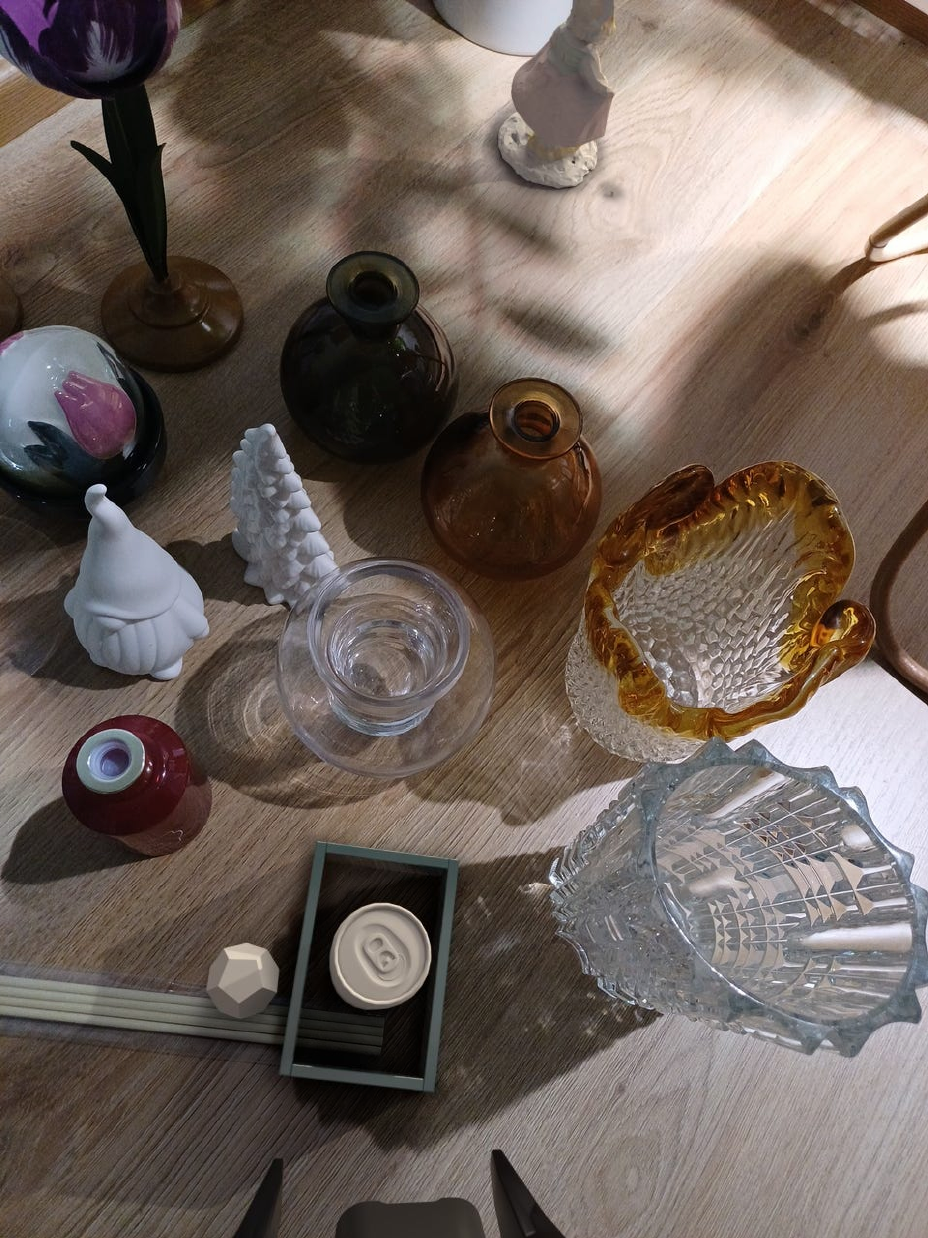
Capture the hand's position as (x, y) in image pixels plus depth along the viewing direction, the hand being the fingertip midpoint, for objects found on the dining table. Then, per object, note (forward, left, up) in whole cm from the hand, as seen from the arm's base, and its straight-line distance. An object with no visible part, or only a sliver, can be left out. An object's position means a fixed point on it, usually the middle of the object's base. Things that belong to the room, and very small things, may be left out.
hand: (388, 1161), depth 44 cm
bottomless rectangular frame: (+8, +1, -14) cm, 16 cm away
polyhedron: (+7, +8, -14) cm, 18 cm away
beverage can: (+8, +1, -14) cm, 16 cm away
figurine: (+72, -5, -14) cm, 73 cm away
